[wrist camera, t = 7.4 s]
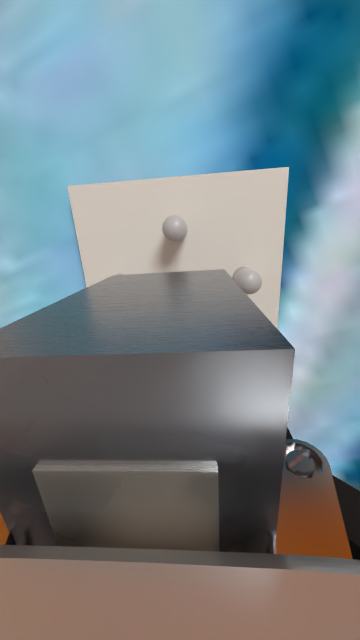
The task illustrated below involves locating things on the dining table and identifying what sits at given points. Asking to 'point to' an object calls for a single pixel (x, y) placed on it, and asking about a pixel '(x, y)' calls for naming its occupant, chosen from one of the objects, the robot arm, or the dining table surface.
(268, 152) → the dining table surface
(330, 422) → the dining table surface
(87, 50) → the dining table surface
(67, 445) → the block
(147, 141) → the dining table surface
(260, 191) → the pin tray
